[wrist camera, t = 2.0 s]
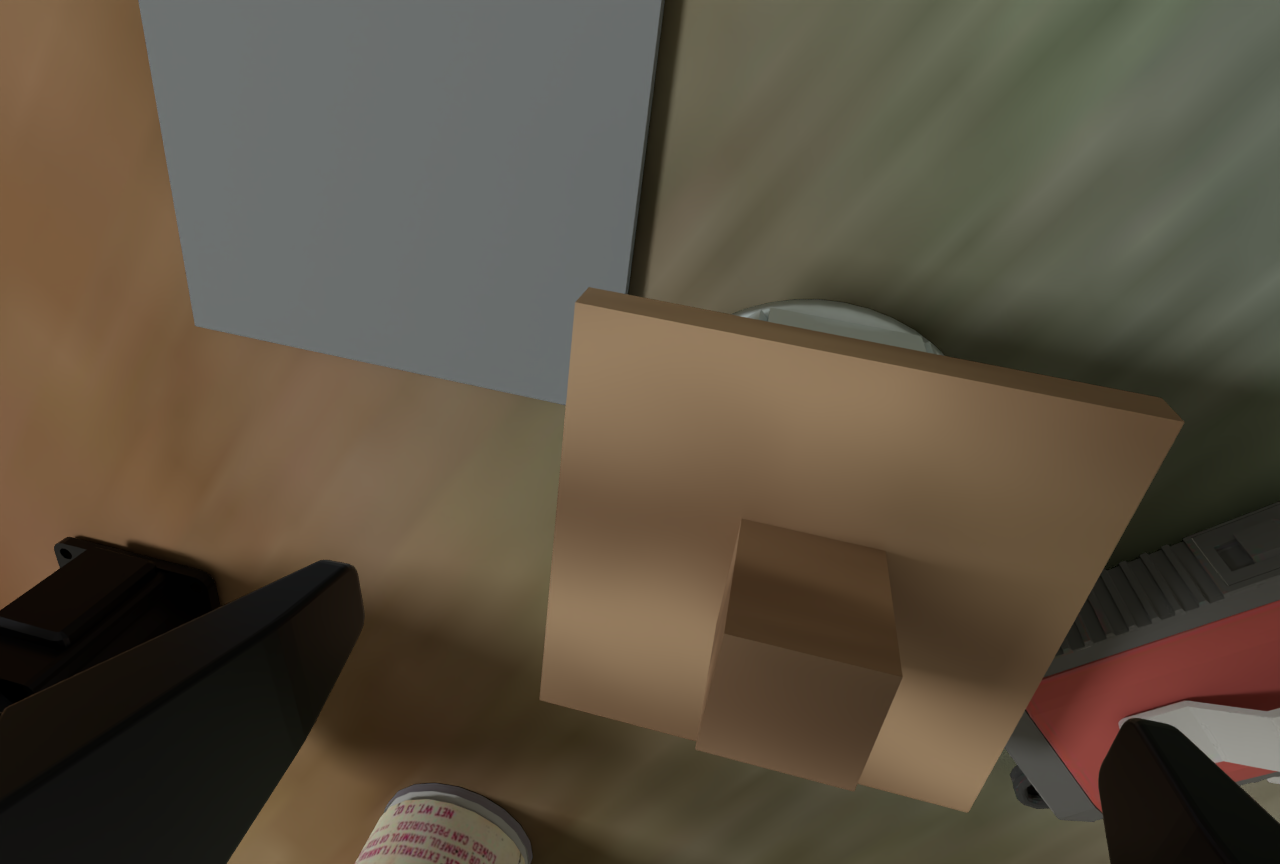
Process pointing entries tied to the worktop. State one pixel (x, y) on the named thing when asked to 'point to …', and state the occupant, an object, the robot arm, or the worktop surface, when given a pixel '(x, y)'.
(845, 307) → the bowl
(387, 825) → the aerosol can
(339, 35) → the mat
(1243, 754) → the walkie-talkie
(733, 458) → the lid
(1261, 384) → the worktop surface
